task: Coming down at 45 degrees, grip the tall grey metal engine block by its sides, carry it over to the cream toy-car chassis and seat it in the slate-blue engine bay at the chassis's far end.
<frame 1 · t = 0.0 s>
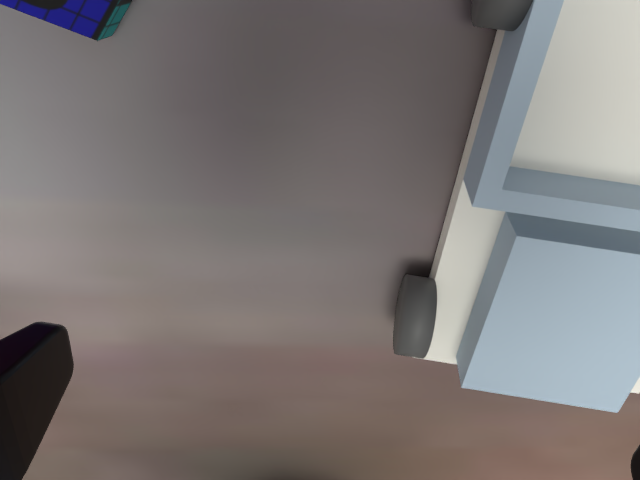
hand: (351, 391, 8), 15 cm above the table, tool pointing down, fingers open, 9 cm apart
chassis: (596, 178, 21), on the table
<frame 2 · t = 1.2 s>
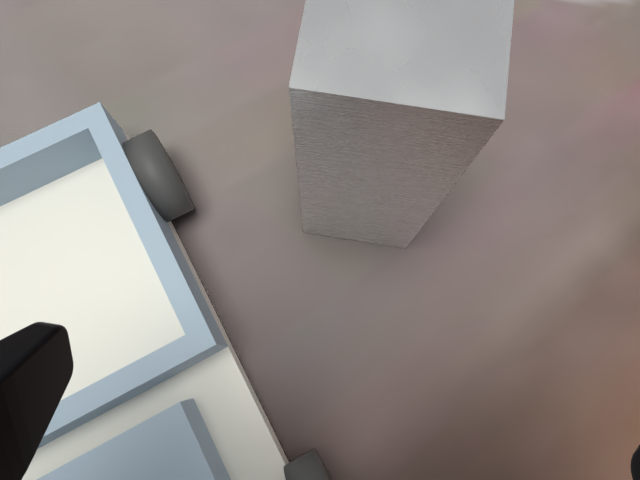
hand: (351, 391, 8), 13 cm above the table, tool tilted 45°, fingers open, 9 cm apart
engine block: (361, 191, 23), on the table
chassis: (105, 405, 21), on the table
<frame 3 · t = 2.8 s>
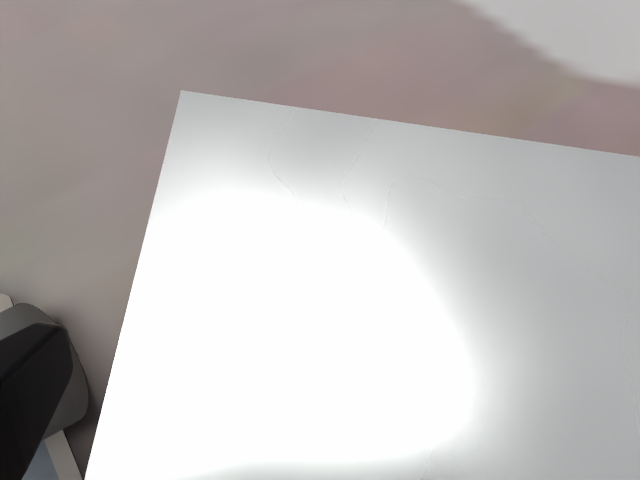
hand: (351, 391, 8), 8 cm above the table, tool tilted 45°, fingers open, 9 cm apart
engine block: (335, 370, 16), on the table
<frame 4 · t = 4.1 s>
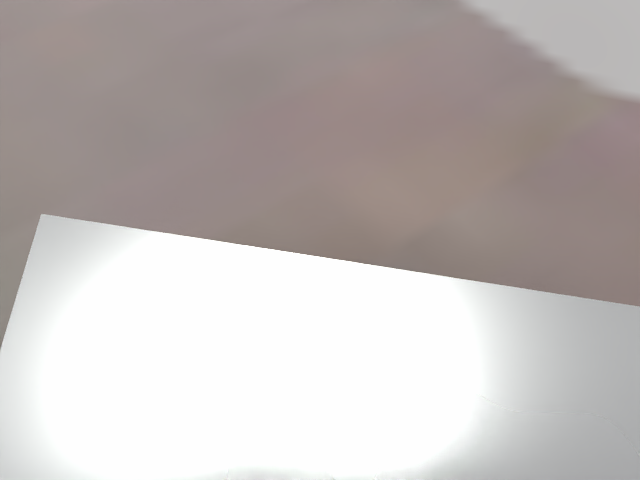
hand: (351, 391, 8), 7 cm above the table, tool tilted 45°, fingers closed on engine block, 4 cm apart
engine block: (328, 432, 14), on the table, touching gripper
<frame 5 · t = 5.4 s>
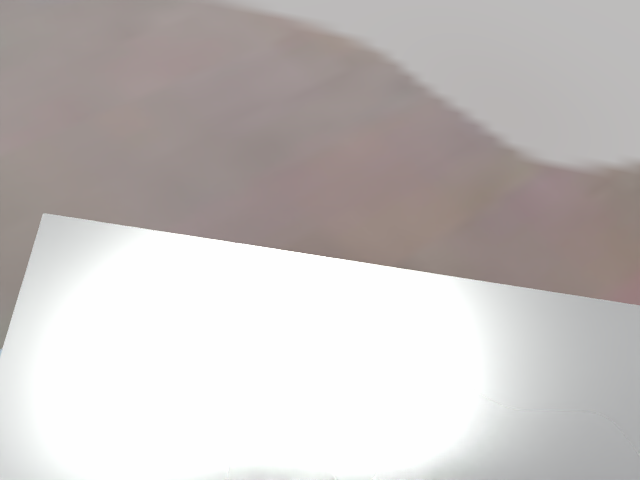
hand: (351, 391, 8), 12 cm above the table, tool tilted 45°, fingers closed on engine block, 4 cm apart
engine block: (328, 432, 14), point 6 cm above the table, touching gripper
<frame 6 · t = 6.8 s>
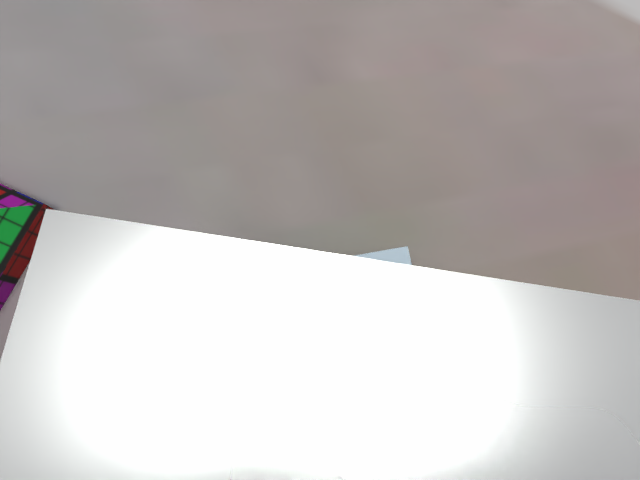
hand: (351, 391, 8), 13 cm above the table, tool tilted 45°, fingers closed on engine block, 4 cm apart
engine block: (329, 431, 14), point 7 cm above the table, touching gripper
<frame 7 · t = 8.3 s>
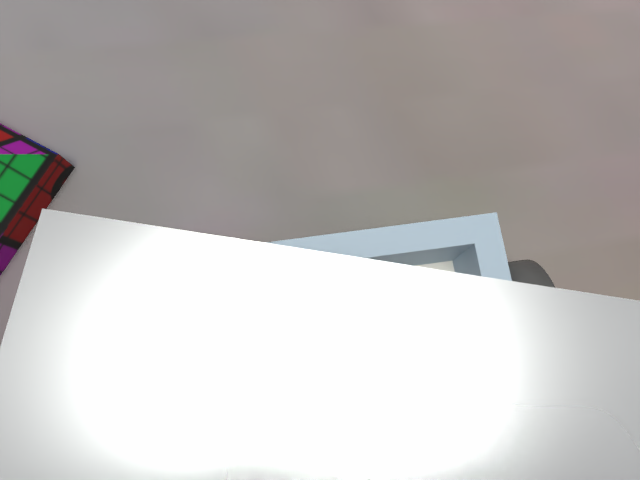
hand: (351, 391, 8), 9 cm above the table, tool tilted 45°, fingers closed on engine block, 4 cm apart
engine block: (328, 431, 14), point 3 cm above the table, touching gripper
when the fingers open (9 cm above the table, at t = 8.3 s): engine block drops 1 cm, resting on chassis.
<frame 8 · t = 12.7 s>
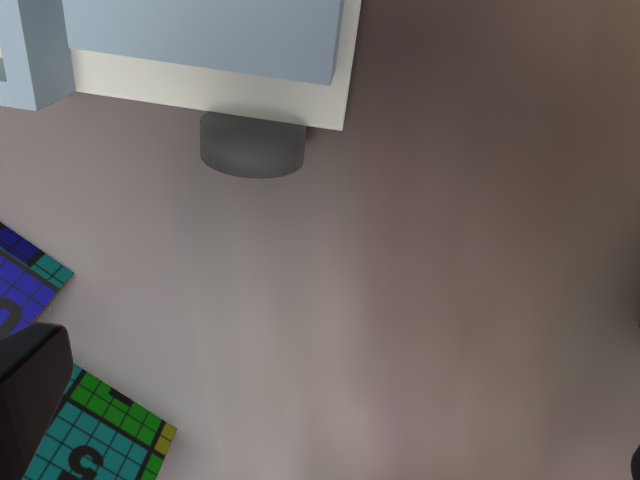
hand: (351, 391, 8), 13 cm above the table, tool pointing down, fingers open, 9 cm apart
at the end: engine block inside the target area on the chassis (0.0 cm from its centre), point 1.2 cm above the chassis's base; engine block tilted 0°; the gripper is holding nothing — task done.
